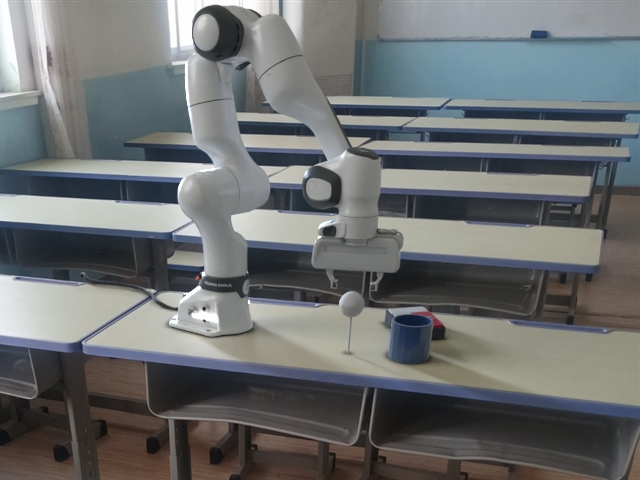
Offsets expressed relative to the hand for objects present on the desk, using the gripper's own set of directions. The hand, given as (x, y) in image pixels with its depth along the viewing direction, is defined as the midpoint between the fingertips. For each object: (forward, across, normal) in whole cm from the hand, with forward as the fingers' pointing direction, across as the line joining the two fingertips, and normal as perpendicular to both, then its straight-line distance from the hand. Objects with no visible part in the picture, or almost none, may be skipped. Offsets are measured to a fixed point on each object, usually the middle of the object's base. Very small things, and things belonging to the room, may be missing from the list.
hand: (354, 289), depth 188 cm
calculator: (+16, -13, -21) cm, 30 cm away
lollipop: (+16, 0, 0) cm, 16 cm away
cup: (+16, -14, -2) cm, 21 cm away
